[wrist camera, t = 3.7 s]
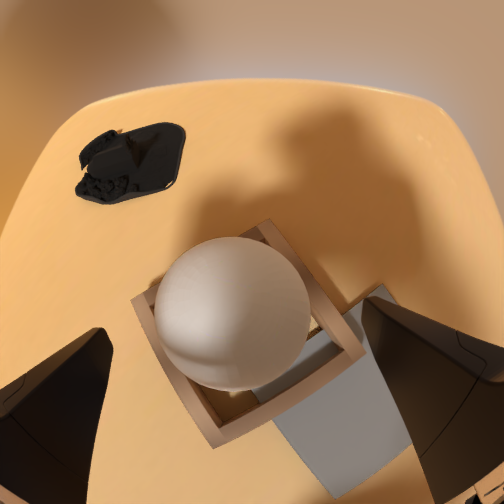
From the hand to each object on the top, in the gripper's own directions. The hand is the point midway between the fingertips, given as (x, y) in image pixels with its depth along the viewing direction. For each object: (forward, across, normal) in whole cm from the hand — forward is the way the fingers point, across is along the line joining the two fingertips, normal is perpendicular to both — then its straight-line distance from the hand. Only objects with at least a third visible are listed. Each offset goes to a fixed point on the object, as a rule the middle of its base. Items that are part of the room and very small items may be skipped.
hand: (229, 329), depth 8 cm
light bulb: (+7, 0, +6) cm, 9 cm away
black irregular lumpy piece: (+19, +10, -6) cm, 22 cm away
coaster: (+3, -7, +10) cm, 12 cm away
